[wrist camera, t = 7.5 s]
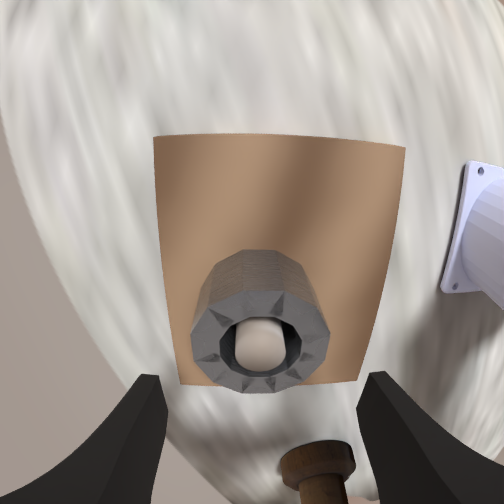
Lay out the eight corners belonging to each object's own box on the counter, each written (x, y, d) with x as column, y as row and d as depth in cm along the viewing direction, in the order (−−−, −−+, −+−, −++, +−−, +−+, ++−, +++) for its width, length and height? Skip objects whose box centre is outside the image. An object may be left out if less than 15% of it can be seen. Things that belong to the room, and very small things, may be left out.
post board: (396, 145, 13) (450, 159, 9) (352, 370, 19) (372, 423, 14) (159, 135, 13) (121, 143, 9) (182, 373, 18) (171, 430, 14)
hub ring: (318, 250, 14) (339, 290, 11) (305, 342, 16) (317, 390, 13) (198, 248, 14) (185, 289, 11) (204, 342, 16) (197, 392, 13)
